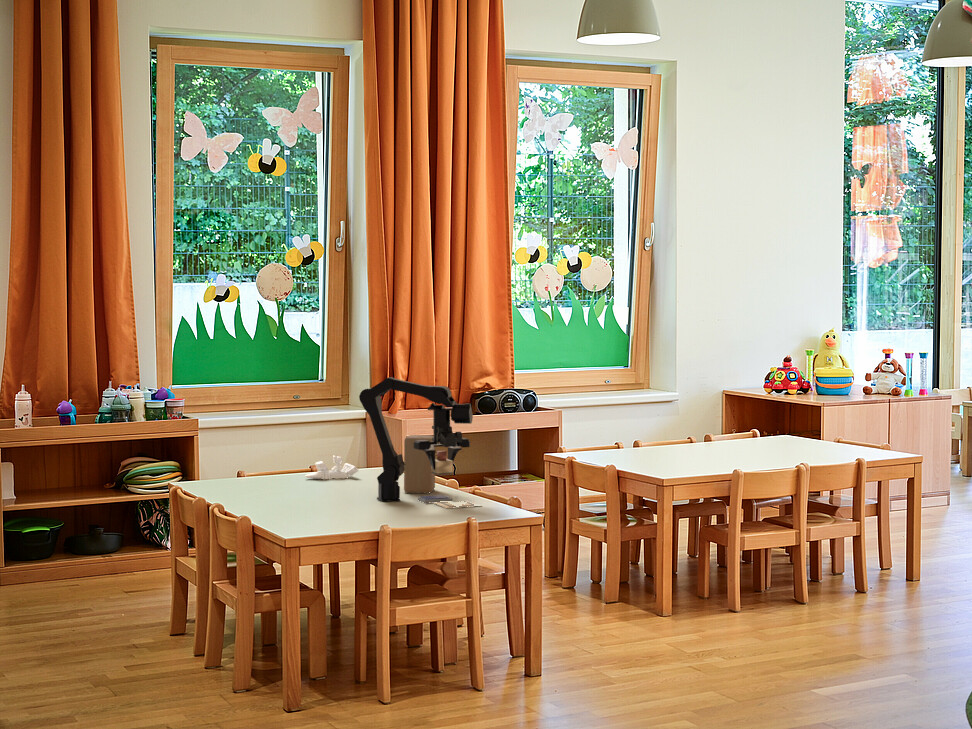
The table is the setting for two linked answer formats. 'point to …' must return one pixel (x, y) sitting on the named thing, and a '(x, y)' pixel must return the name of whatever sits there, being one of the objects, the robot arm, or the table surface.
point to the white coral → (333, 470)
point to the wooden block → (417, 467)
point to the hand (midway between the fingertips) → (442, 469)
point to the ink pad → (434, 498)
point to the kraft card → (448, 505)
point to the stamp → (442, 464)
